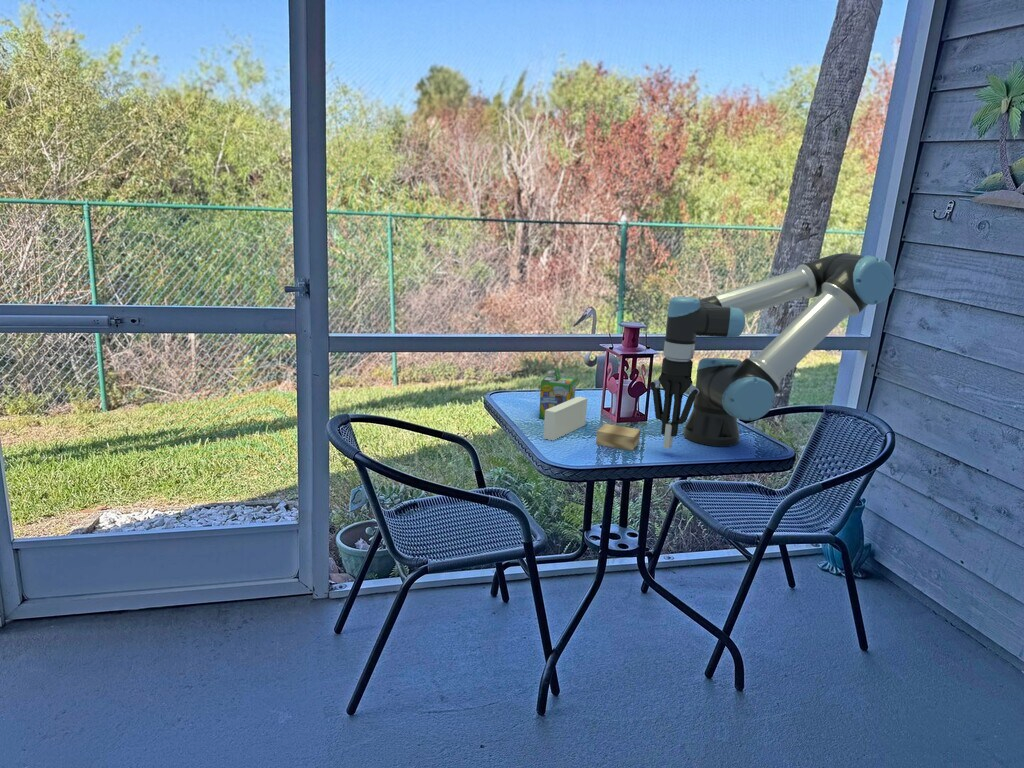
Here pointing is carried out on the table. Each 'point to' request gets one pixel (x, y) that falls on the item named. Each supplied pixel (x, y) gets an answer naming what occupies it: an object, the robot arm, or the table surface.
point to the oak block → (618, 437)
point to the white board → (565, 418)
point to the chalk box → (555, 391)
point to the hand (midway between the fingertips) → (667, 447)
